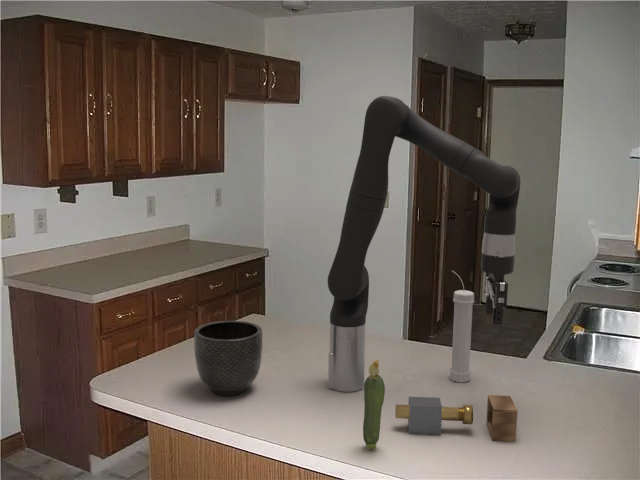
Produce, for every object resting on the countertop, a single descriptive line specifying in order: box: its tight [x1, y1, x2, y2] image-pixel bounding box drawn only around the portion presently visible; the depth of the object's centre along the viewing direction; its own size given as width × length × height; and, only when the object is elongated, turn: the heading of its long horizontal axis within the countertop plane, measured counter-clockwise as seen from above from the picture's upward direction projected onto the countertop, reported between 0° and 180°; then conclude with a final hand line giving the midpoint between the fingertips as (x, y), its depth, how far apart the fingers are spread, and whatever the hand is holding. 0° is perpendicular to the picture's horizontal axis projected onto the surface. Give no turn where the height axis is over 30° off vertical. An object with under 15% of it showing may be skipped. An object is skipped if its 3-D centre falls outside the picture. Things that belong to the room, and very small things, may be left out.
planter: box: [193, 320, 263, 397], centre depth 174 cm, size 17×17×16 cm
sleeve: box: [407, 396, 443, 436], centre depth 153 cm, size 7×5×7 cm
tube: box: [394, 404, 474, 425], centre depth 153 cm, size 17×4×4 cm, turn 85°
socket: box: [485, 394, 518, 443], centre depth 152 cm, size 5×8×7 cm, turn 175°
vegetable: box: [362, 359, 386, 450], centre depth 143 cm, size 4×4×20 cm
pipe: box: [449, 270, 475, 383], centre depth 182 cm, size 6×6×30 cm
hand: (493, 318), depth 162 cm, fingers open, 8 cm apart
